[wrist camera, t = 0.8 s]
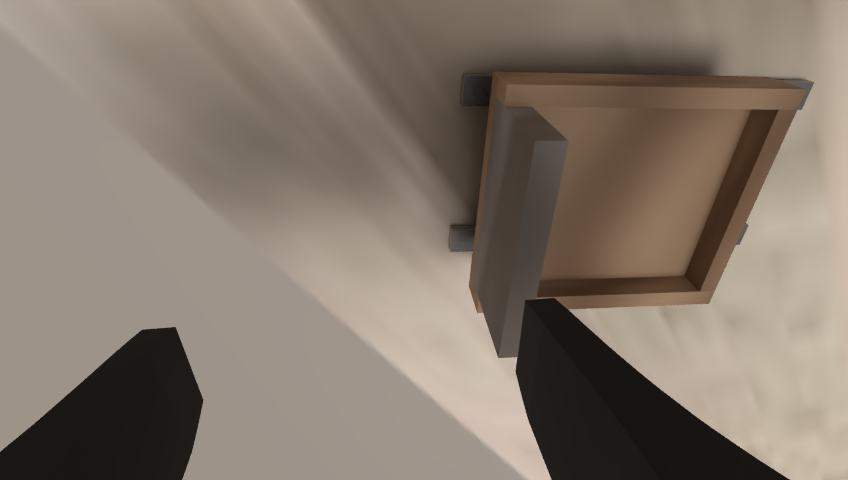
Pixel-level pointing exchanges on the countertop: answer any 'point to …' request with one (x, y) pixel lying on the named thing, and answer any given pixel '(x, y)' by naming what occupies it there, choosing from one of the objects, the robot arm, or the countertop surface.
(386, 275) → the countertop surface
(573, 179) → the cart
